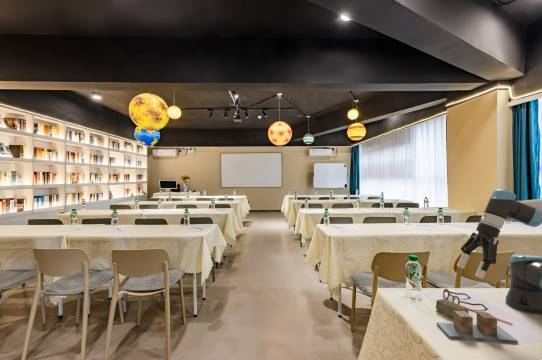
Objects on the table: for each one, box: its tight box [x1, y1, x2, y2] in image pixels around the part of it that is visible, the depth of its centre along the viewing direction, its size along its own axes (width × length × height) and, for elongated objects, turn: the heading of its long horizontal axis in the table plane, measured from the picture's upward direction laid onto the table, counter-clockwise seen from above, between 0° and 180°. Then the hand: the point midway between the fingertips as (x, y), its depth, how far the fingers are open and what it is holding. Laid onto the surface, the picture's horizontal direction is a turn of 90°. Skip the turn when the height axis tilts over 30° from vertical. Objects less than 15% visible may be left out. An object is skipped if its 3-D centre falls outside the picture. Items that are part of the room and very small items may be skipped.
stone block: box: [435, 298, 469, 320], centre depth 119 cm, size 6×12×5 cm, turn 19°
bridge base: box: [436, 311, 519, 344], centre depth 104 cm, size 22×10×7 cm, turn 83°
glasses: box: [442, 288, 488, 310], centre depth 132 cm, size 13×13×5 cm
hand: (468, 272), depth 119 cm, fingers open, 13 cm apart
